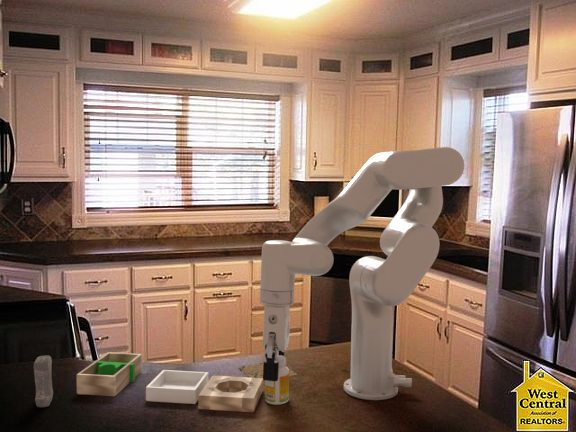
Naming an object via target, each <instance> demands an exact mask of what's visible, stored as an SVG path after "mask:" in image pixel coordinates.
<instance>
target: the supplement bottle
mask: <svg viewBox="0 0 576 432" xmlns="http://www.w3.org/2000/svg"><path fill="white" fill-rule="evenodd" d="M277 362H279V368H278V380H277V381H266V380H265V381H264V400H265V402H266V403H267V404H270V405H277V406H278V405H283V404H286V403H288V402H289V399H290V393H289V392H290V377H289V369H290V368H289V367H288V366H287V357H286V356H285V355H284V356H280V355H278V361H277ZM288 368H289V369H288Z"/></svg>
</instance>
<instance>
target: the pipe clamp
mask: <svg viewBox="0 0 576 432" xmlns="http://www.w3.org/2000/svg"><path fill="white" fill-rule="evenodd" d="M95 361H96V360H93V361H92V363H94V362H95ZM92 363H91V364H92ZM127 364H128V363H120V362H105V361H98V362H97V369H98V372H97V375H112V376H113V375H114V374H116V373H117V372H118V371H119V370H121V369H122V368H123V367H124V366H125V365H127ZM135 381H136V377H135V364H134V363H131V364H130V383H134V382H135Z"/></svg>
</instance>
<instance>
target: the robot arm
mask: <svg viewBox="0 0 576 432" xmlns="http://www.w3.org/2000/svg"><path fill="white" fill-rule="evenodd" d="M464 171H465V160H464V158H463V155H462V154H461V153H460V152H459V150H457V149H455V148H453V147H450V146H442V147H431V148H429V147H428V148H421V149H415V150H413V149H410V150H392V151H381V152H378V153H375V154H374V155H372V156H371V157H370V158H369V159H368V160H367V161H366V162H365V163H364V164H363V165H362V166H361V168H360V169H359V170H358V171H357V173H356V174H355V175H354V176H353V177H352V178H351V180H350V181H349V182H348V183H347V184H346V186H345V187H344V189H342V190H341V192H340V193H339V194H338V195H337V196H336V197H335V198H334V199H333V200H331V201H330V202H329V203H328V204H327V205H326V206H324V207H323V208H322V209H321V210H320V211H319V212H317V213H316V214H315V215H314V216H312V217H311V218H310V219H309V221H307V222H306V224H305V225H304V226H303V227H302V229H301V230H300V231H299V232H298V233H297V235H295V237H294V238H293V239H292V241H288V240H283V239H282V240H279V239H274V240H273V239H272V240H271V239H270V240H267V241H265V242H263V244H262V247H261V259H260V260H261V262H260V263H261V264H260V265H261V267H260V269H261V270H260V285H259V287H260V288H259V303H260V304H261V305H263V307H264V308H263V309H264V310H263V323H262V324H263V327H262V349H263V350H264V351H265V352H264V359H263V363H264V364H263V380H266V381H277V380H278V368H279V362H277V361H278V355H280V356H284V357H285V352H286V351H287V348H288V346H289V342H290V323H291V322H290V320H291V319H290V316H291V313H290V312H291V310H290V307H291V306H293V305H294V304H295V302H294V300H295V279H296V275H303V276H305V275H306V276H310V277H311V276H312V277H317V276H322V275H325V274H327V273H328V272H329V271H330V270H331V269H332V267H333V265H334V260H335V259H334V254H333V251H332V249H330V248H329V246H328V245H329V244H330V243H331V242H332V241H333V240H334V239H335V238H337V237H338V236H339V235H341V234H342V233H343V232H346V231H348V230H350V229H353V228H355V227H358V226H360V225H361V224H363V223H365V222H366V221H367V220H368V219H369V218H370V216H371V215H372V214H373V213H374V212H375V210H376V209H377V208H378V207H379V206H380V205H381V203H382V202H383V201H384V200H385V198H387V196H388V195H389V194H390V192H391V191H392V190H400V191H401V190H408V194H407V197H406V199H405V201H404V202H403V204H402V206H401V207H400V208H399V209H398V211H397V213H396V214H395V215H394V216H393V217H392V219H391V221H390V222H389V224H387V226H386V227H385V228H384V230H383V232H382V233H381V236H380V239H379V247H380V250H382V252H383V253H384V255H386V256H387V257H386V258H382V257H379V256H374V255H367V256H366V255H365V256H363V257H361V258H359V259H357V260H356V261H355V263H353V265H352V266H351V269H350V271H349V281H348V282H349V289H350V290H349V291H350V299H351V300H350V301H351V329H350V330H351V334H350V335H351V337H350V339H351V340H350V378H348V379H345V381H344V383H343V390H344V392H345V393H346V394H348V395H349V396H352V397H354V398H357V399H360V400H361V399H362V400H367V401H383V400H389V399H392V398H394V397H396V396H397V395H398V393H399V387H400V386H401V387H407V388H412V385H413V378H411V377H410V378H409V377H406V375H401V374H400V375H399V374H396V373H394V371H393V367H392V366H393V365H392V364H393V332H394V331H393V330H394V328H393V327H394V311H393V310H394V309H393V307H396V306H398V305H400V304H402V303H404V302H405V301H406V300H407V299H408V298H409V297H410V296H411V295H412V293H413V292H414V290H416V288H417V286H418V285H419V284H420V282H421V281H422V280H423V278H424V277H425V275H426V274H427V273H428V271H429V270H430V269H431V267H432V266H433V264H434V262H435V261H436V259H437V257H438V254H439V251H440V246H441V245H440V238H439V235H438V233H437V231H436V230H435V229H434V228H433V226H434V224H435V223H436V222H437V220H438V219H439V216H440V214H441V212H442V210H443V205H444V204H443V203H444V196H443V189H442V187H443V186H444V187H445V186H450V185H452V184H455V183H456V182H458V181H459V180H460V179H461V177H462V175H464Z"/></svg>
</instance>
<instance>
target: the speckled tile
mask: <svg viewBox="0 0 576 432" xmlns="http://www.w3.org/2000/svg"><path fill="white" fill-rule="evenodd" d="M263 364H264V362H260V363H255V364H248V365H242V366H238V367H237V369H238V370H239V369H240V371H241V372H242V371H243V372H244V373H245V374H244V373H243V372H242V373H243V374H244V375H246V374H247V375H248V376H249V377H250V378H263ZM288 369H289V378H291V377H296V376H299V375H298V374H297V372H295V371H294V370H292V369H290V368H289V367H288ZM247 375H246V376H247ZM248 376H247V377H248ZM263 382H265V380H263Z"/></svg>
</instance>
